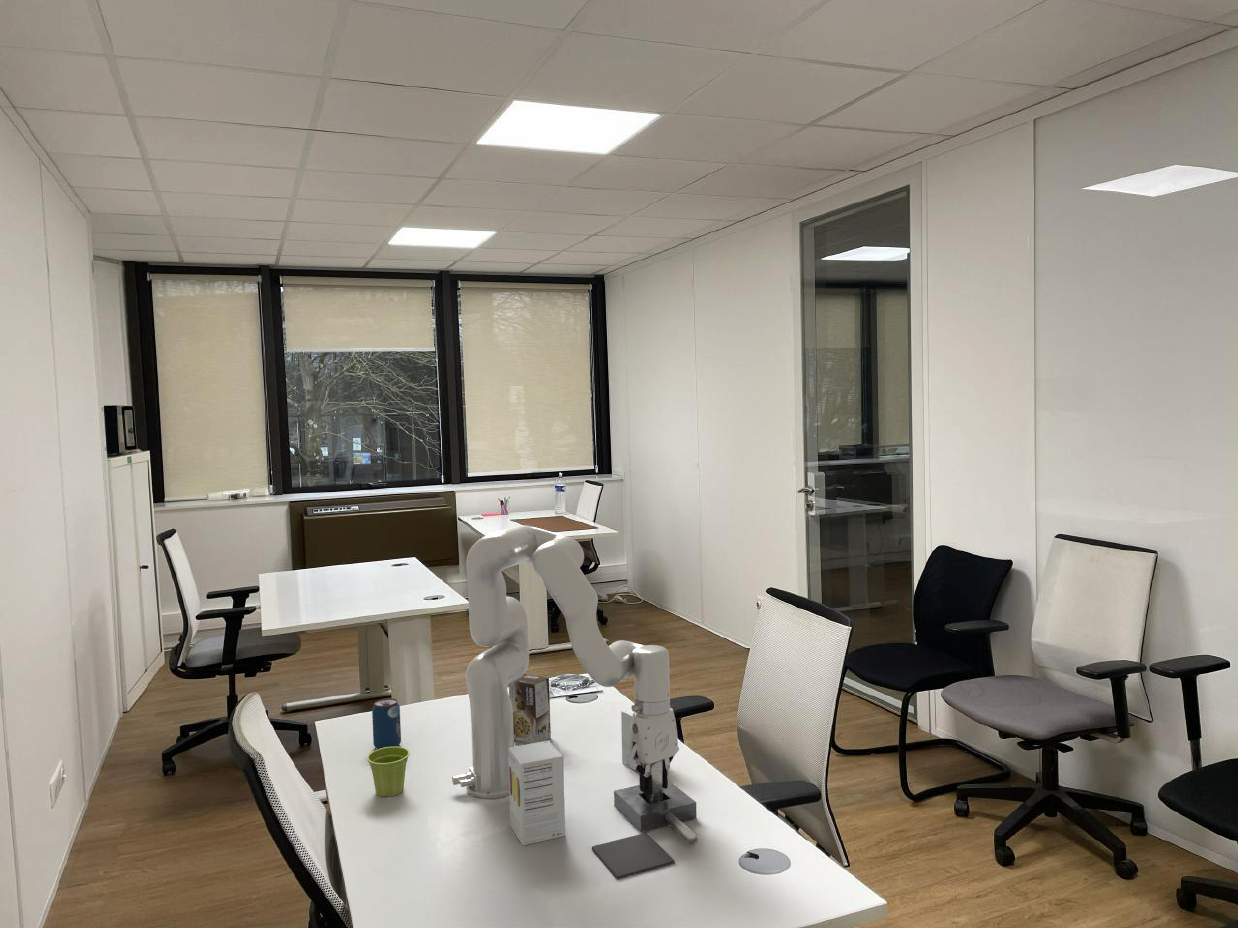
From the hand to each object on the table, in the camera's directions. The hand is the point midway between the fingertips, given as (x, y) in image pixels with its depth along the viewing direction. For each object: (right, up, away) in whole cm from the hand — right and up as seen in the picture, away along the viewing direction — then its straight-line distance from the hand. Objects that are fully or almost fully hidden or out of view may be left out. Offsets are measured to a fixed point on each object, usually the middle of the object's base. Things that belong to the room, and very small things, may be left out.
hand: (653, 788), depth 181 cm
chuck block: (+2, -5, -4) cm, 7 cm away
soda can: (-67, -5, +40) cm, 78 cm away
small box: (-2, -4, +26) cm, 26 cm away
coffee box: (-31, -3, +43) cm, 53 cm away
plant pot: (-60, -6, +13) cm, 61 cm away
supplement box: (-24, -6, -6) cm, 26 cm away
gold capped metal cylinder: (0, -4, 0) cm, 4 cm away
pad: (-5, -6, -17) cm, 19 cm away
